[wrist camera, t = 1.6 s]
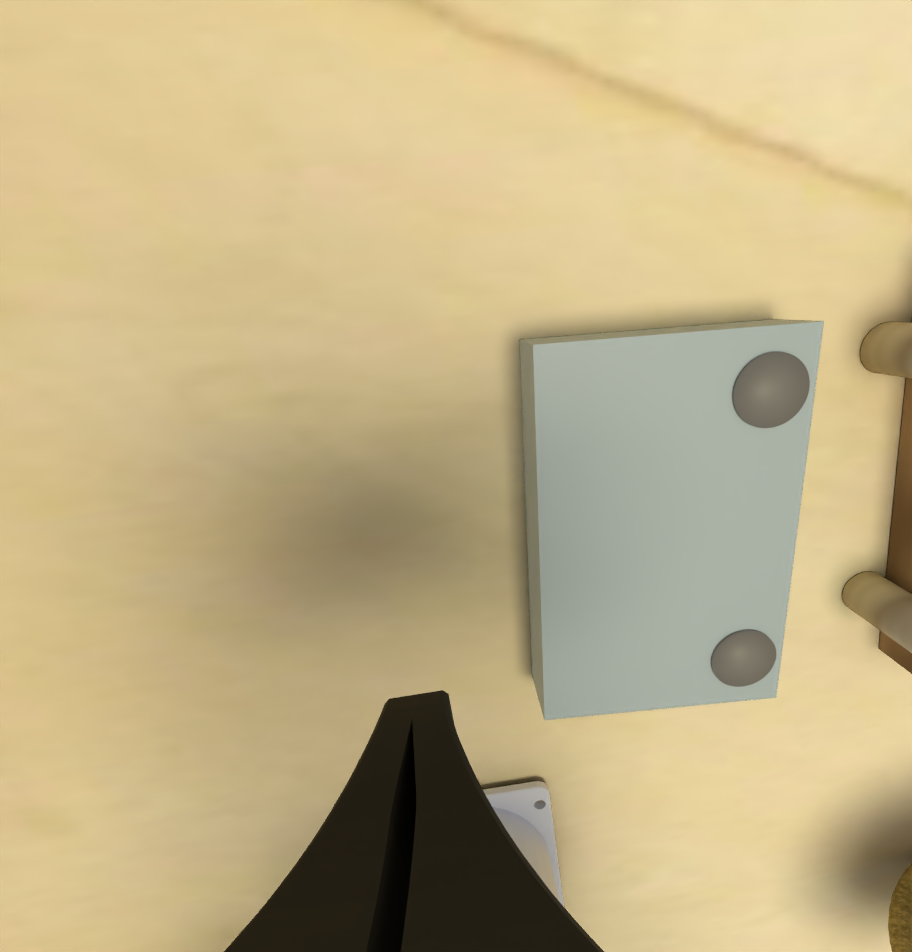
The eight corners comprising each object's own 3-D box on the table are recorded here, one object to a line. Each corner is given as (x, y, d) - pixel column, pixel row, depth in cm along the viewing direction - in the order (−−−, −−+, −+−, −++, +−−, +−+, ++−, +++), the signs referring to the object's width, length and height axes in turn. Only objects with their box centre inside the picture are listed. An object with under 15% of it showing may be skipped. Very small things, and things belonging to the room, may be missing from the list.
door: (734, 650, 24) (778, 700, 21) (530, 669, 24) (545, 722, 21) (765, 318, 20) (826, 321, 17) (517, 338, 19) (533, 344, 16)
